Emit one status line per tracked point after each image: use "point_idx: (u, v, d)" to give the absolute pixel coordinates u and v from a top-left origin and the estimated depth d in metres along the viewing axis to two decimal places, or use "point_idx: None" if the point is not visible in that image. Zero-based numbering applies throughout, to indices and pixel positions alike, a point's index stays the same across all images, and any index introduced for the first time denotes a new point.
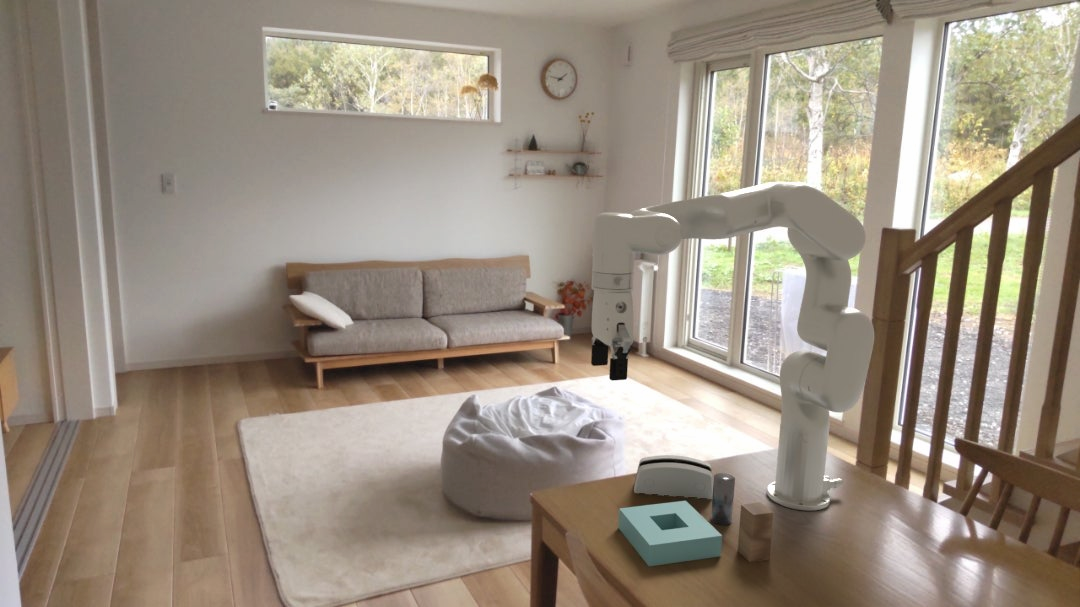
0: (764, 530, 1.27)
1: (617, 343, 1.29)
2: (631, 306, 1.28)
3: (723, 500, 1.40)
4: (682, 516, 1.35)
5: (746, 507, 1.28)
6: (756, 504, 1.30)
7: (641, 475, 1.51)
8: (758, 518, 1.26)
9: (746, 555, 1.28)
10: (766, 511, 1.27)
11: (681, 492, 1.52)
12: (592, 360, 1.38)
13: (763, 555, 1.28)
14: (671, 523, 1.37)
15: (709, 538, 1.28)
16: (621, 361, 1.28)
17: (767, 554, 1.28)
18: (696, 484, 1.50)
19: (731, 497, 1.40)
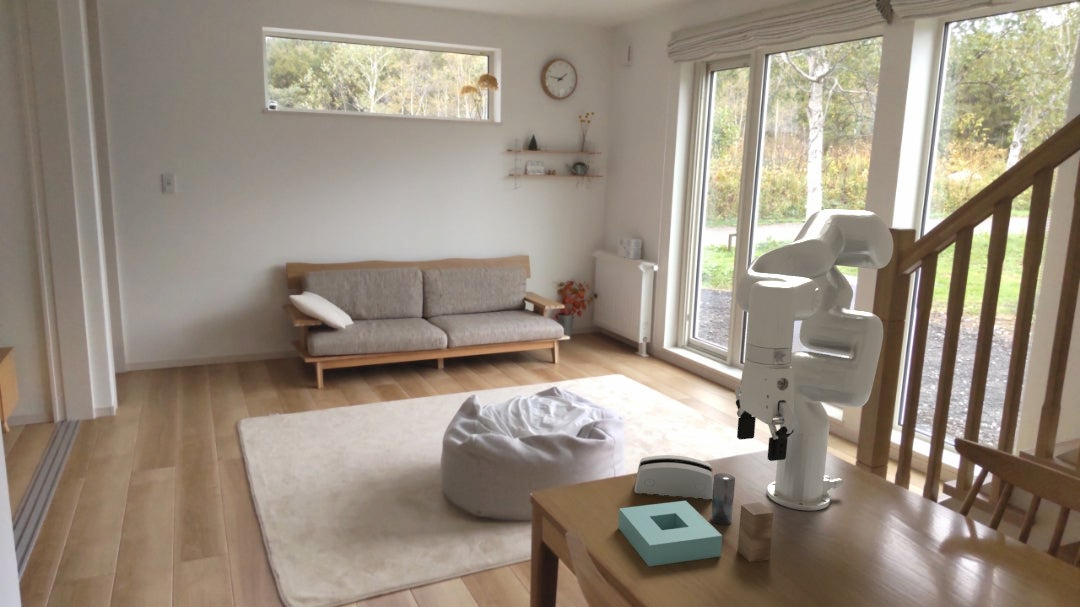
0: (764, 530, 1.27)
1: (777, 421, 1.21)
2: (792, 382, 1.20)
3: (723, 500, 1.40)
4: (682, 516, 1.35)
5: (746, 507, 1.28)
6: (756, 504, 1.30)
7: (641, 475, 1.51)
8: (758, 518, 1.26)
9: (746, 555, 1.28)
10: (766, 511, 1.27)
11: (681, 492, 1.52)
12: (739, 433, 1.30)
13: (763, 555, 1.28)
14: (671, 523, 1.37)
15: (709, 538, 1.28)
16: (782, 441, 1.20)
17: (767, 554, 1.28)
18: (696, 484, 1.50)
19: (731, 497, 1.40)
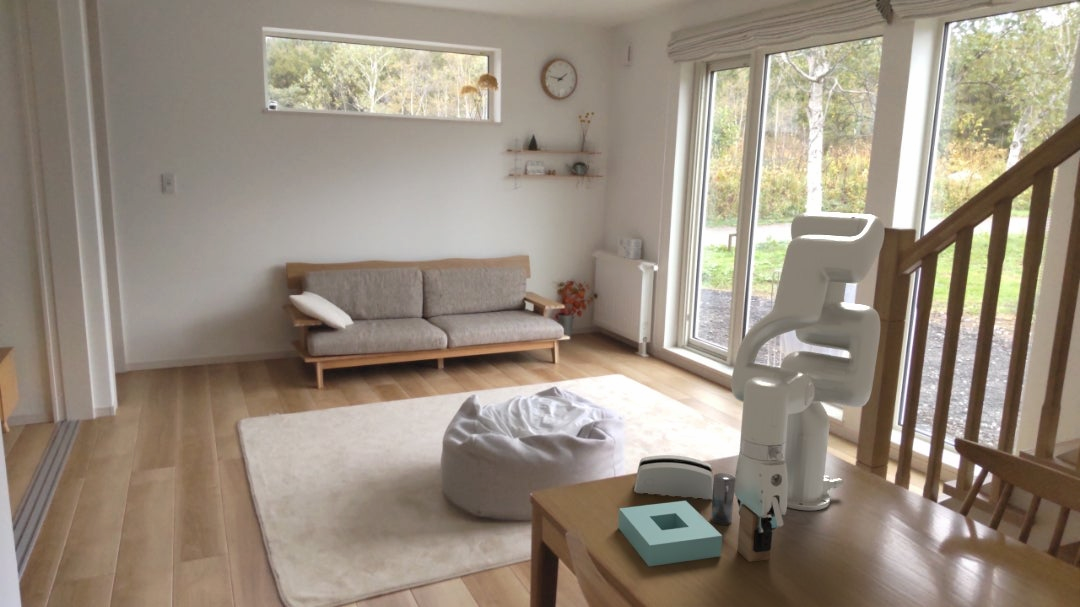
0: None
1: (765, 517, 1.25)
2: (786, 477, 1.23)
3: (723, 500, 1.40)
4: (682, 516, 1.35)
5: (746, 507, 1.28)
6: None
7: (641, 475, 1.51)
8: None
9: (746, 555, 1.28)
10: None
11: (681, 492, 1.52)
12: None
13: (763, 555, 1.28)
14: (671, 523, 1.37)
15: (709, 538, 1.28)
16: (767, 534, 1.26)
17: (767, 554, 1.28)
18: (696, 484, 1.50)
19: (731, 497, 1.40)
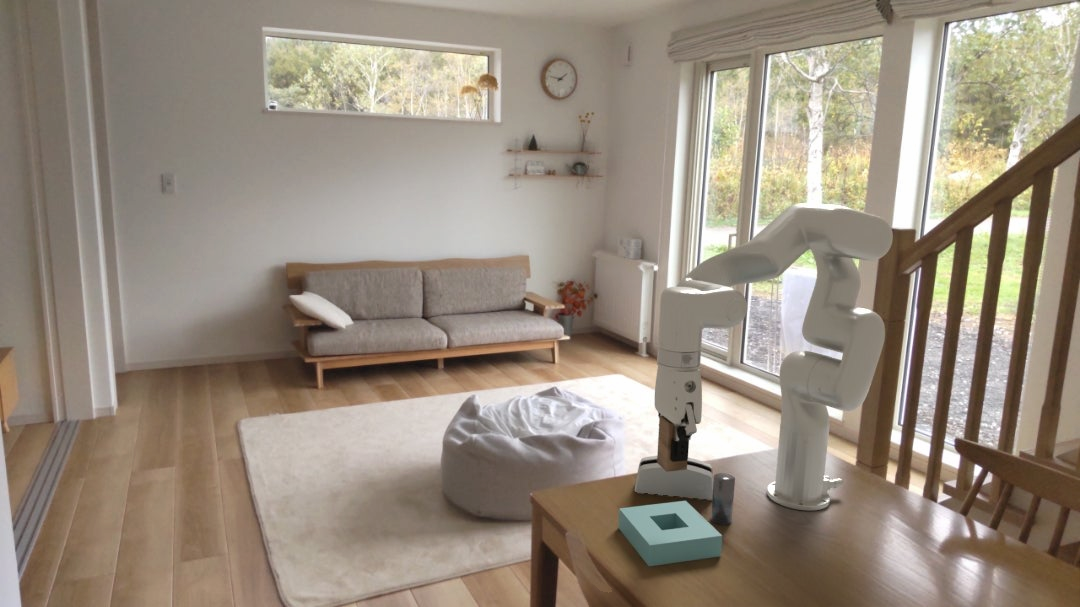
0: None
1: (681, 425, 1.26)
2: (700, 385, 1.24)
3: (723, 500, 1.40)
4: (682, 516, 1.35)
5: (664, 418, 1.30)
6: None
7: (641, 475, 1.51)
8: None
9: (663, 465, 1.30)
10: (683, 421, 1.28)
11: (681, 493, 1.51)
12: None
13: (680, 465, 1.29)
14: (671, 523, 1.37)
15: (709, 538, 1.28)
16: (683, 443, 1.27)
17: (684, 464, 1.29)
18: (696, 485, 1.50)
19: (731, 497, 1.40)
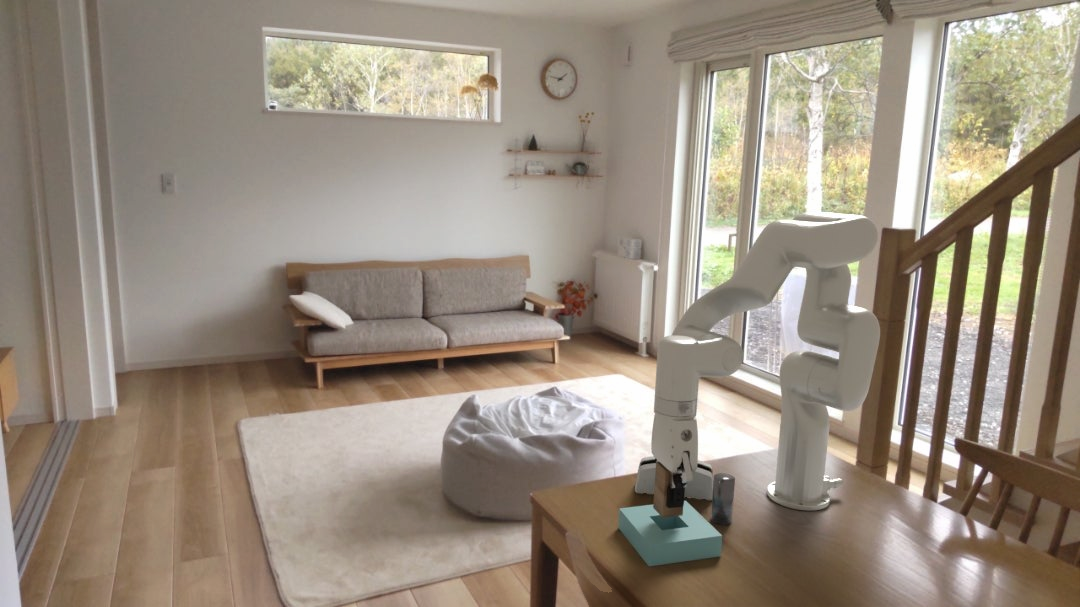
0: None
1: (677, 472, 1.28)
2: (696, 433, 1.26)
3: (723, 500, 1.40)
4: (682, 516, 1.35)
5: (660, 464, 1.31)
6: None
7: (641, 475, 1.51)
8: None
9: (660, 511, 1.31)
10: (679, 468, 1.30)
11: None
12: None
13: (676, 511, 1.31)
14: (671, 523, 1.37)
15: (709, 538, 1.28)
16: (679, 490, 1.28)
17: (680, 510, 1.31)
18: (696, 485, 1.50)
19: (731, 497, 1.40)
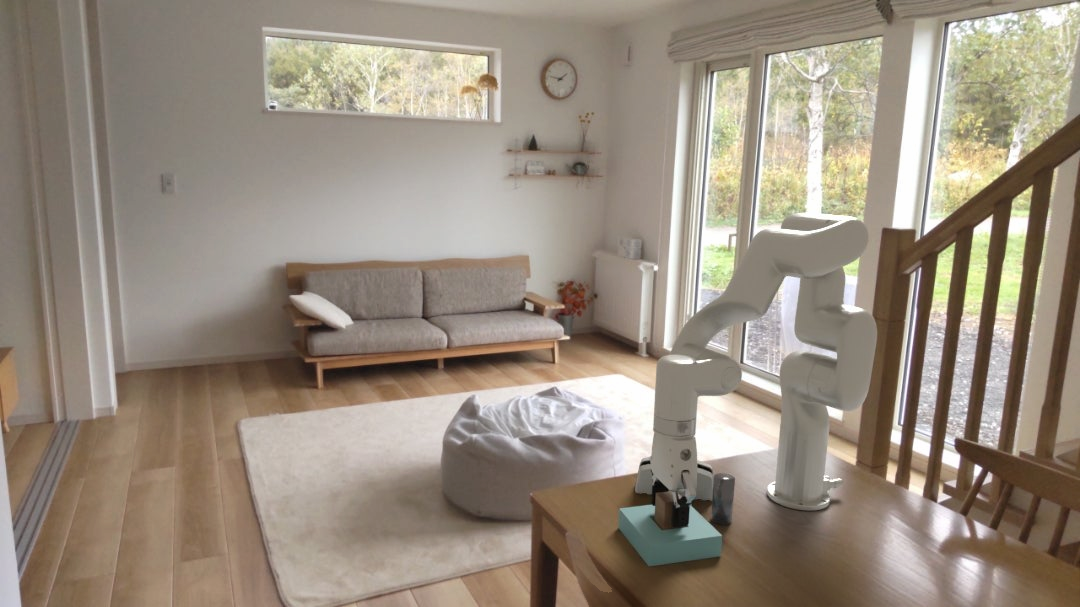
0: None
1: (680, 490, 1.28)
2: (695, 452, 1.27)
3: (723, 500, 1.40)
4: None
5: (660, 495, 1.32)
6: (671, 492, 1.34)
7: (641, 475, 1.51)
8: (670, 505, 1.30)
9: None
10: None
11: (682, 493, 1.51)
12: (653, 500, 1.36)
13: None
14: None
15: (709, 538, 1.28)
16: (683, 509, 1.27)
17: None
18: (697, 485, 1.49)
19: (731, 497, 1.40)
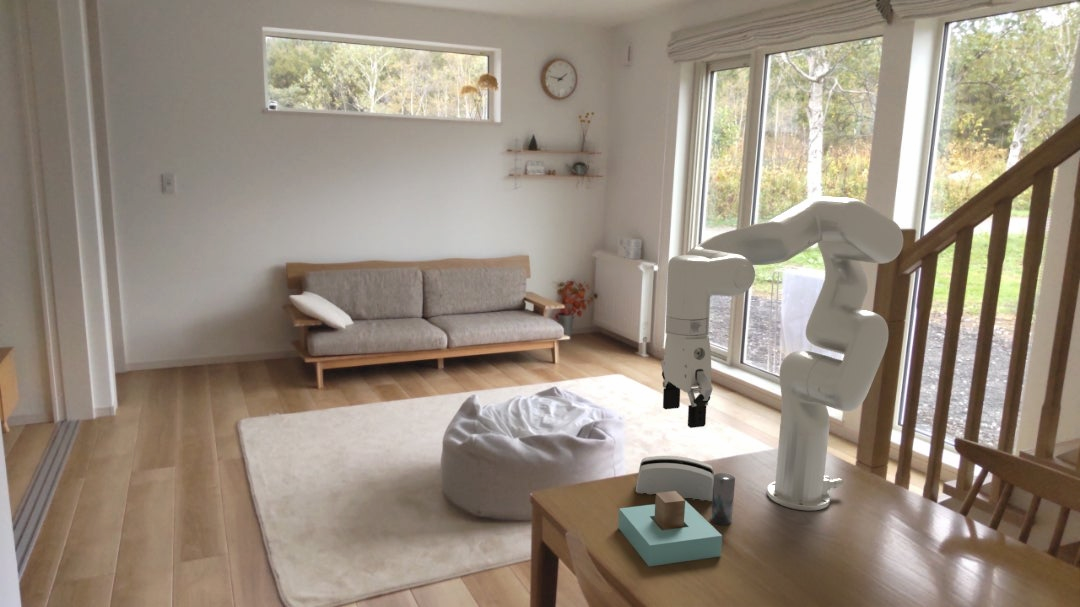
0: (676, 517, 1.31)
1: (695, 390, 1.26)
2: (709, 352, 1.25)
3: (723, 500, 1.40)
4: None
5: (660, 495, 1.32)
6: (671, 492, 1.34)
7: (642, 475, 1.51)
8: (669, 505, 1.30)
9: None
10: (678, 499, 1.31)
11: (682, 493, 1.51)
12: (665, 403, 1.35)
13: None
14: None
15: (709, 538, 1.28)
16: (700, 408, 1.25)
17: None
18: (697, 485, 1.49)
19: (731, 497, 1.40)
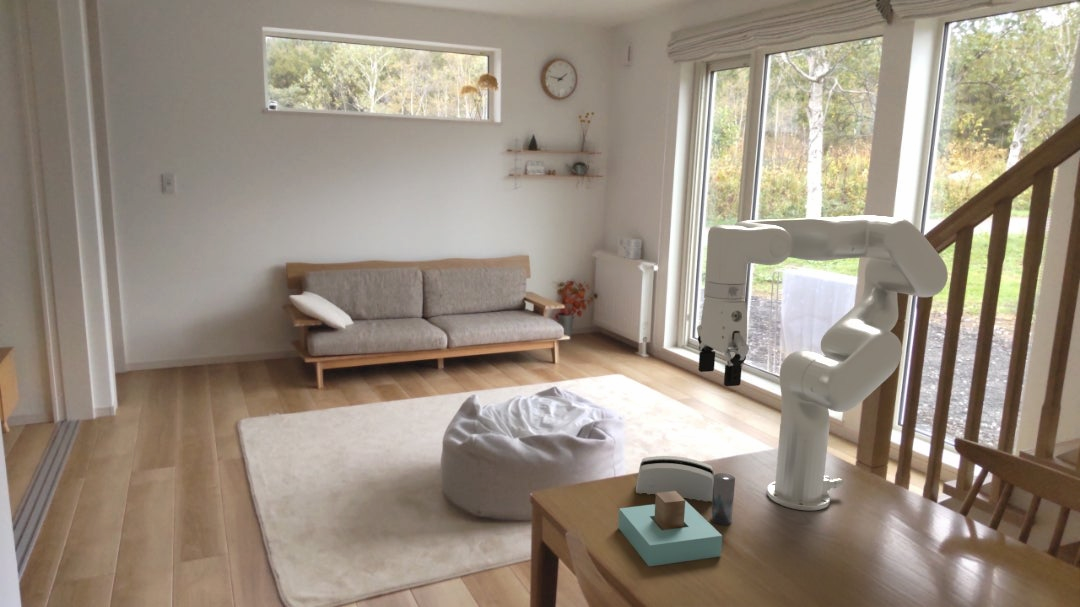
0: (676, 517, 1.31)
1: (732, 350, 1.34)
2: (745, 315, 1.33)
3: (723, 500, 1.40)
4: None
5: (660, 495, 1.32)
6: (671, 492, 1.34)
7: (642, 475, 1.51)
8: (669, 505, 1.30)
9: None
10: (678, 499, 1.31)
11: (682, 494, 1.51)
12: (700, 366, 1.43)
13: None
14: None
15: (709, 538, 1.28)
16: (736, 368, 1.33)
17: None
18: (697, 486, 1.49)
19: (731, 497, 1.40)
